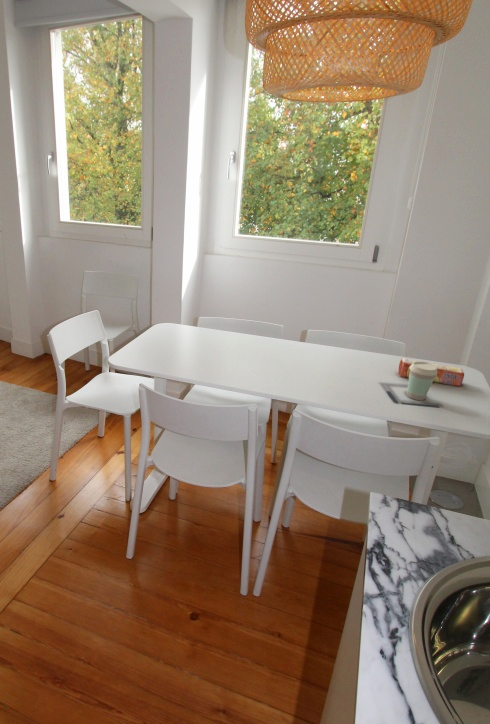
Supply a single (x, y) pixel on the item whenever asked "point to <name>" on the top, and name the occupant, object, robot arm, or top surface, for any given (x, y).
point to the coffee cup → (420, 379)
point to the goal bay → (409, 403)
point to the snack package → (443, 375)
